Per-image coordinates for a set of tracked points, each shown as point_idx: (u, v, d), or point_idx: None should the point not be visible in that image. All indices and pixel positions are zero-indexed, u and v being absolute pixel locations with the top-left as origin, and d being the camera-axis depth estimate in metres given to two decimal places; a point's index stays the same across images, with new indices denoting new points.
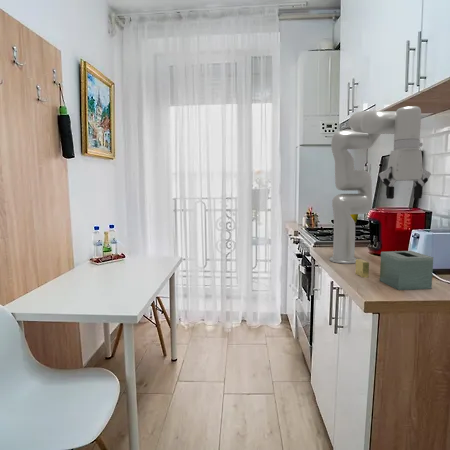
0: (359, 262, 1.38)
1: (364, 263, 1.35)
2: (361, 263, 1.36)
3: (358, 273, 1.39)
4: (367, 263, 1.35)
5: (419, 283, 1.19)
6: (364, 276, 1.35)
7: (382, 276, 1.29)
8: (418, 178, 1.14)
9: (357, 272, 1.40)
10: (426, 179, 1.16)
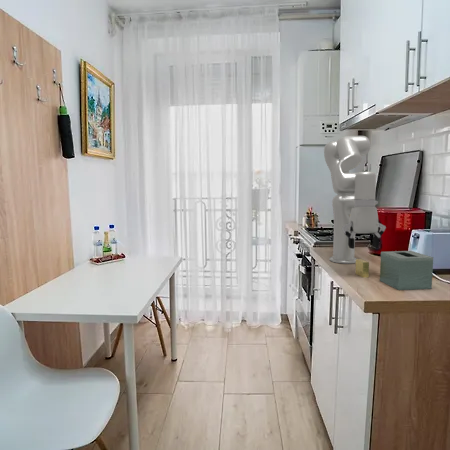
0: (359, 262, 1.38)
1: (364, 263, 1.35)
2: (361, 263, 1.36)
3: (358, 273, 1.39)
4: (367, 263, 1.35)
5: (419, 283, 1.19)
6: (364, 276, 1.35)
7: (382, 276, 1.29)
8: (375, 231, 1.34)
9: (357, 272, 1.40)
10: (382, 232, 1.36)
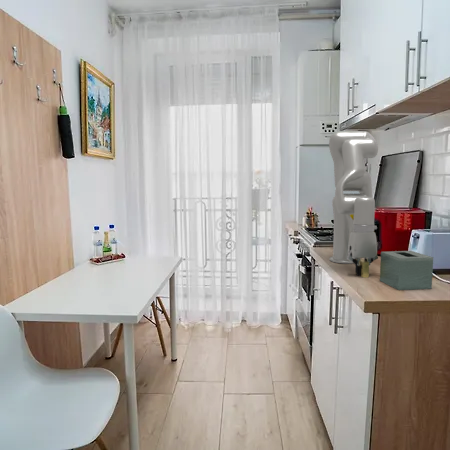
0: None
1: (364, 263, 1.35)
2: (361, 263, 1.36)
3: None
4: (367, 263, 1.35)
5: (419, 283, 1.19)
6: (364, 276, 1.35)
7: (382, 276, 1.29)
8: (373, 256, 1.36)
9: None
10: (372, 259, 1.37)
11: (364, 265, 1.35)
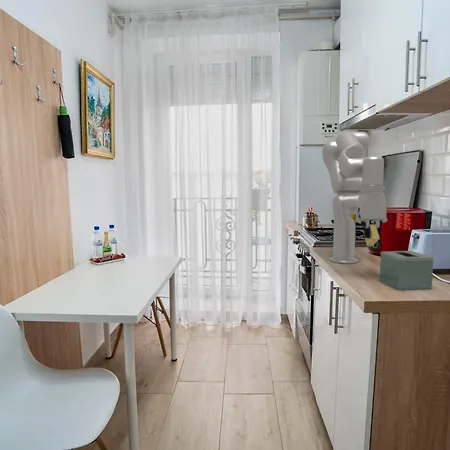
0: None
1: (371, 225, 1.32)
2: None
3: (369, 240, 1.33)
4: (374, 225, 1.32)
5: (419, 283, 1.19)
6: (375, 237, 1.30)
7: (382, 276, 1.29)
8: (382, 218, 1.31)
9: (368, 241, 1.33)
10: (381, 222, 1.33)
11: (371, 227, 1.32)
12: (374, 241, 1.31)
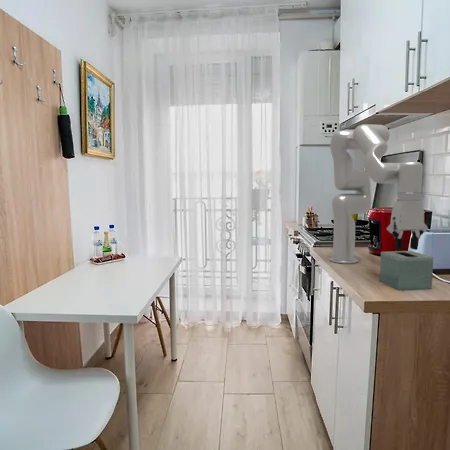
0: None
1: None
2: None
3: None
4: None
5: (419, 283, 1.19)
6: None
7: (382, 276, 1.29)
8: (420, 228, 1.21)
9: None
10: (422, 231, 1.23)
11: None
12: None
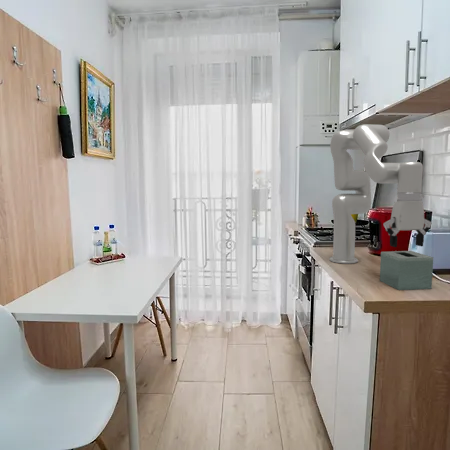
0: None
1: None
2: None
3: None
4: None
5: (419, 283, 1.19)
6: None
7: (382, 276, 1.29)
8: (420, 228, 1.21)
9: None
10: (427, 228, 1.23)
11: None
12: None
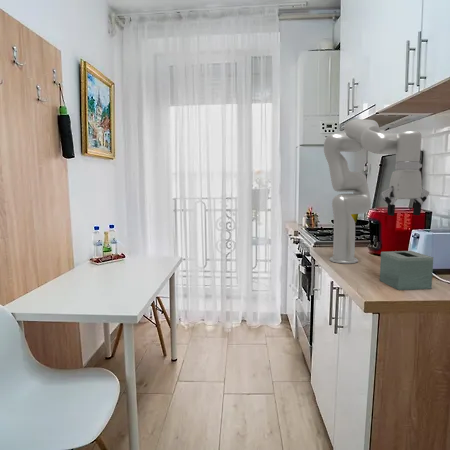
0: None
1: None
2: None
3: None
4: None
5: (419, 283, 1.19)
6: None
7: (382, 276, 1.29)
8: (417, 197, 1.24)
9: None
10: (425, 198, 1.25)
11: None
12: None
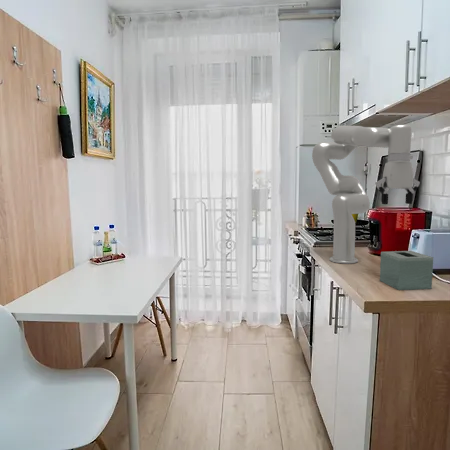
0: None
1: None
2: None
3: None
4: None
5: (419, 283, 1.19)
6: None
7: (382, 276, 1.29)
8: (409, 186, 1.32)
9: None
10: (416, 187, 1.33)
11: None
12: None
